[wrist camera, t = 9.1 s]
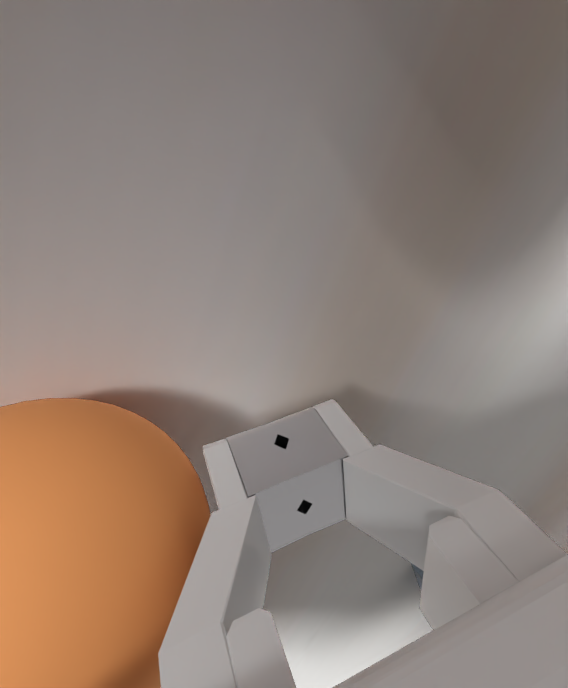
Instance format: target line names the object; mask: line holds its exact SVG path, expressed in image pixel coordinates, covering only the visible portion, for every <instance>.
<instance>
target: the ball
mask: <svg viewBox="0 0 568 688" xmlns="http://www.w3.org/2000/svg"><path fill="white" fill-rule="evenodd" d="M209 518H210V510H209V505H208V501H207V498H206V495H205V492H204V489H203V486H202V483H201V481H200V478H199V476H198V474H197V473H196V471H195V469H194V467H193V466H192V464H191V462H190V460H189V459H188V457H187V456H186V455H185V454H184V452H183V451H182V450H181V448H180V447H179V446H178V445H177V444H176V443H175V442H174V441H173V440H172V439H171V438H170V437H169V436H168V435H167V434H166V433H165V432H164V431H163V430H161V429H160V428H158V427H157V426H156V425H154V424H153V423H152V422H150V421H149V420H147V419H145V418H143V417H141V416H139V415H138V414H136V413H134V412H132V411H129V410H126V409H124V408H121V407H118V406H116V405H112V404H108V403H104V402H99V401H95V400H86V399H77V398H48V399H40V400H31V401H24V402H20V403H15V404H11V405H7V406H3V407H0V688H161V683H160V670H159V657H158V653H159V650H160V647H161V645H162V642H163V640H164V637H165V634H166V632H167V629H168V626H169V624H170V621H171V618H172V616H173V613H174V610H175V608H176V605H177V603H178V600H179V597H180V595H181V592H182V589H183V587H184V584H185V581H186V579H187V576H188V573H189V571H190V568H191V565H192V563H193V560H194V558H195V555H196V552H197V550H198V547H199V544H200V542H201V539H202V536H203V534H204V531H205V528H206V526H207V523H208V521H209Z"/></svg>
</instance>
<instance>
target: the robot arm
mask: <svg viewBox="0 0 568 688" xmlns="http://www.w3.org/2000/svg"><path fill="white" fill-rule="evenodd" d="M226 439H227V440H226ZM202 447H203V454H204V458H205V461H206V465H207V469H208V472H209V476H210V480H211V483H212V487H213V491H214V494H215V498H216V502H217V505H218V509H219V510H217V511H215V512H213V513H211V515H210V518H209V521H208V523H207V526H206V528H205V531H204V534H203V536H202V539H201V542H200V544H199V547H198V550H197V552H196V555H195V558H194V560H193V563H192V565H191V568H190V571H189V573H188V576H187V579H186V581H185V584H184V587H183V589H182V592H181V595H180V597H179V600H178V603H177V605H176V608H175V610H174V613H173V616H172V618H171V621H170V624H169V626H168V629H167V632H166V634H165V637H164V640H163V642H162V645H161V647H160V650H159V653H158V657H159V670H160V683H161V688H296V685H295V682H294V679H293V676H292V673H291V670H290V667H289V664H288V661H287V658H286V656H285V653H284V650H283V647H282V644H281V641H280V638H279V635H278V632H277V629H276V626H275V623H274V620H273V617H272V614H271V612H269V611H266V610H263V608H264V601H265V595H266V589H267V583H268V577H269V570H270V564H271V558H272V555H271V553H272V552H274V551H276V550H279V549H281V548H283V547H285V546H287V545H289V544H291V543H293V542H295V541H297V540H299V539H301V538H303V537H305V536H307V535H310V534H312V533H314V532H317V531H319V530H322V529H324V528H326V527H329V526H331V525H333V524H336V523H338V522H341V521H343V520H345V519H347V522H349V523H350V524H352V525H353V526H355V527H356V528H358V529H359V530H361V531H363V532H364V533H366V534H367V535H369V536H370V537H372V538H373V539H375V540H376V541H378V542H379V543H381V544H383V545H384V546H386V547H387V548H389V549H390V550H392V551H393V552H395V553H396V554H398V555H400V556H401V557H403V558H404V559H406V560H407V561H409V562H410V563H412V564H413V565H415V566H417V567H418V568H420V569H421V570H423V571H424V573H423V581H422V588H421V596H420V604H419V608H420V610H421V612H422V613H423V615H424V616H425V618H426V620H427V621H428V623H429V624H430V626H431V628H432V629H433V631H431V632H430V633H428V634H426V635H424V636H423V637H421V638H419V639H417V640H416V641H414V642H412V643H410V644H408V645H407V646H405V647H403V648H401V649H400V650H398V651H396V652H394V653H393V654H391V655H389V656H387V657H386V658H384V659H382V660H380V661H379V662H377V663H375V664H373V665H371V666H370V667H368V668H366V669H364V670H363V671H361V672H359V673H357V674H356V675H354V676H352V677H350V678H349V679H347V680H345V681H343V682H342V683H340V684H338V685H336V686H334V687H333V688H568V554H567V553H566V552H565V551H564V550H563V549H562V548H561V547H560V546H558V545H557V544H556V543H555V542H554V541H553V540H552V539H551V538H550V537H549V536H548V535H547V534H546V533H545V532H544V531H543V530H541V529H540V528H539V527H538V526H537V525H536V524H535V523H534V522H533V521H532V520H531V519H530V518H529V517H528V516H527V515H525V514H524V513H523V512H522V511H521V510H520V509H519V508H518V507H517V506H516V505H515V504H514V503H513V502H512V501H511V500H510V499H508V498H507V497H506V496H505V495H504V494H503V493H502V492H501V491H500V490H498V489H496V488H493V487H491V486H488V485H485V484H483V483H480V482H477V481H475V480H472V479H470V478H467V477H464V476H462V475H459V474H456V473H454V472H451V471H449V470H446V469H443V468H441V467H438V466H435V465H433V464H430V463H428V462H425V461H422V460H420V459H417V458H414V457H412V456H409V455H407V454H404V453H401V452H399V451H396V450H394V449H391V448H388V447H386V446H383V445H380V444H379V445H377V446H374V447H373V445H372V444H371V443H370V442H369V441H368V439H367V438H366V437H365V436H364V434H363V433H362V432H361V431H360V430H359V428H358V427H357V426H356V425H355V424H354V422H353V421H352V420H351V419H350V418H349V416H348V415H347V414H346V413H345V411H344V410H343V409H342V408H341V407H340V405H339V404H338V403H337V402H336V401H335V400H333V399H331V400H328V401H325V402H323V403H320V404H317V405H315V406H312V407H311V408H307V409H305V410H302V411H299V412H297V413H294V414H291V415H289V416H286V417H283V418H281V419H278V420H275V421H273V422H270V423H268V424H265V425H262V426H259V427H256V428H253V429H250V430H247V431H244V432H241V433H238V434H235V435H232V436H229V437H226V438H225V439H222V440H219V441H216V442H213V443H210V444H207V445H204V446H202Z"/></svg>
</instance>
